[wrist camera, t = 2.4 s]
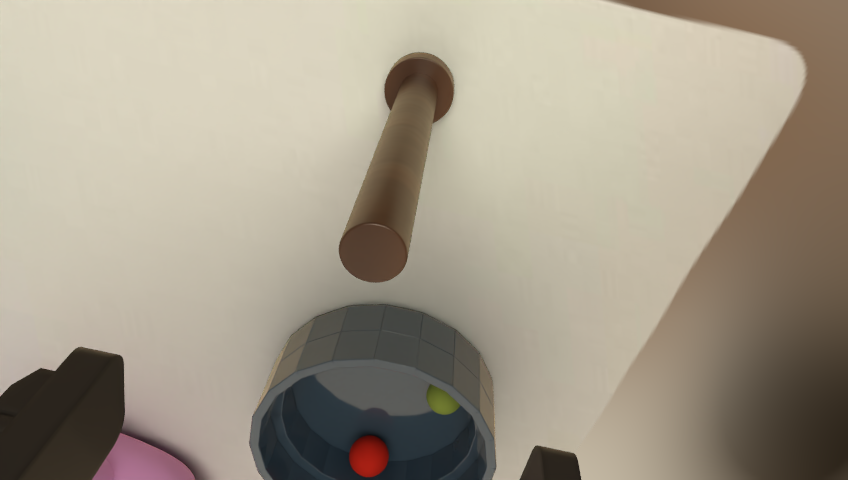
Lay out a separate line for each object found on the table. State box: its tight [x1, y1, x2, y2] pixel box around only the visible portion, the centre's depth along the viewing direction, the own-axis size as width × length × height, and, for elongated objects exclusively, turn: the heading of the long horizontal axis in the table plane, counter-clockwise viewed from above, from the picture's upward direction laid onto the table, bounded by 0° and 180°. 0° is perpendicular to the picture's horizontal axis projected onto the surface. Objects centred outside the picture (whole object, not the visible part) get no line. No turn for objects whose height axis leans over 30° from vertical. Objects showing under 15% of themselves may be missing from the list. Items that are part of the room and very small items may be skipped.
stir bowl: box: [249, 305, 496, 480], centre depth 42 cm, size 15×15×6 cm
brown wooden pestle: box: [339, 52, 454, 282], centre depth 26 cm, size 4×4×18 cm
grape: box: [426, 384, 460, 415], centre depth 42 cm, size 2×2×2 cm
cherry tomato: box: [349, 435, 389, 477], centre depth 45 cm, size 3×3×3 cm
